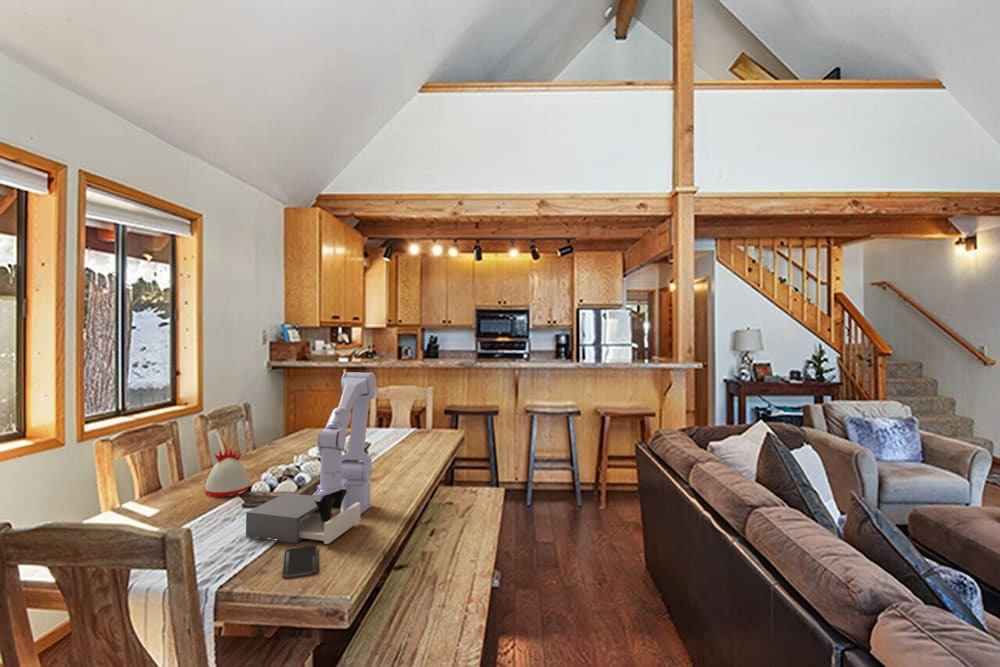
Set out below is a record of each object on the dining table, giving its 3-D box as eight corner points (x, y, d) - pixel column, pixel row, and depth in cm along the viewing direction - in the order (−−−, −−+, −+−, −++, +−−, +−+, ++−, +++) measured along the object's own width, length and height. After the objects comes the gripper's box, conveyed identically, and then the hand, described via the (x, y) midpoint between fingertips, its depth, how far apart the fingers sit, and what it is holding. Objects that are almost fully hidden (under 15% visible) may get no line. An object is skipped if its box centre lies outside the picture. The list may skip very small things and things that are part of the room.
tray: (360, 520, 151) (360, 502, 151) (328, 544, 134) (328, 523, 134) (312, 515, 155) (313, 497, 155) (275, 537, 138) (276, 517, 138)
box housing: (331, 520, 153) (332, 497, 153) (296, 543, 137) (297, 518, 137) (285, 514, 157) (285, 493, 157) (245, 536, 140) (246, 512, 140)
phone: (282, 576, 117) (285, 549, 131) (282, 580, 117) (285, 553, 131) (318, 571, 120) (317, 545, 134) (318, 575, 120) (317, 549, 134)
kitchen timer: (205, 488, 182) (206, 446, 181) (248, 482, 188) (248, 442, 188) (205, 499, 169) (205, 454, 169) (250, 493, 176) (251, 450, 176)
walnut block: (340, 522, 145) (340, 508, 145) (333, 527, 141) (333, 513, 141) (328, 520, 146) (328, 507, 146) (320, 526, 142) (320, 511, 142)
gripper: (332, 463, 152) (331, 508, 152) (303, 476, 138) (302, 526, 138) (354, 465, 150) (353, 510, 150) (326, 479, 136) (325, 529, 136)
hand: (330, 518), depth 144 cm, fingers closed on walnut block, 4 cm apart
